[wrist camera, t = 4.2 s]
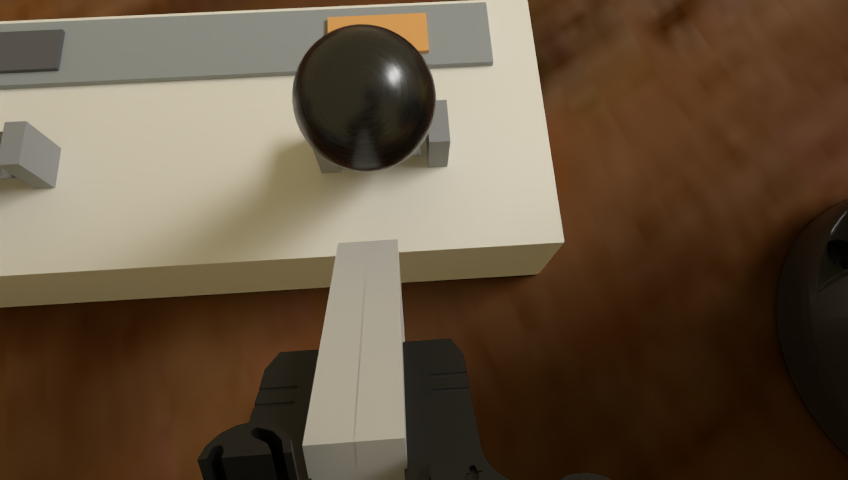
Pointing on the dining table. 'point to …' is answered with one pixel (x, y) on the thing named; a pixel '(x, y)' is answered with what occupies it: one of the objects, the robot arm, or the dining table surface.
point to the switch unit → (258, 155)
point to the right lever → (364, 98)
